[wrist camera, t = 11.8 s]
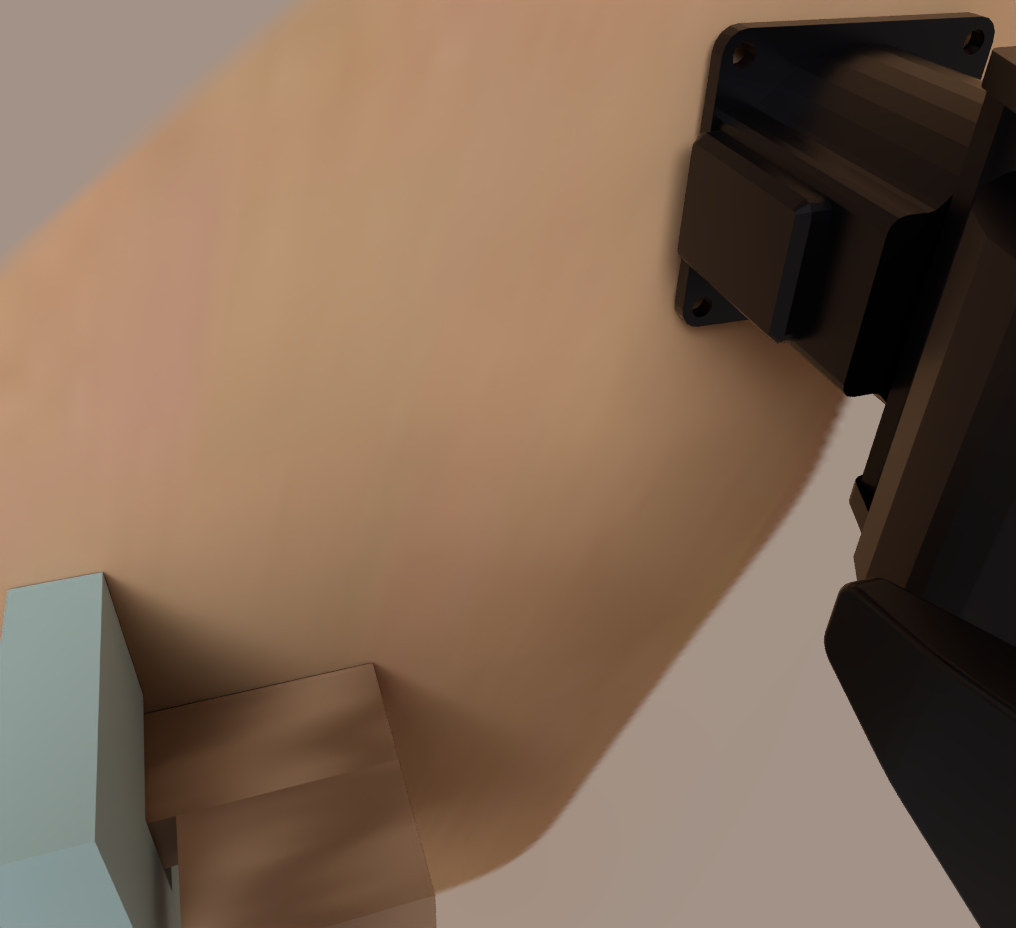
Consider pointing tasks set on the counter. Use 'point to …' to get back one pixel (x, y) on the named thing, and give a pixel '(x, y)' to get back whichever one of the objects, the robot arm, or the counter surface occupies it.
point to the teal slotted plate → (74, 768)
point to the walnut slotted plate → (287, 808)
